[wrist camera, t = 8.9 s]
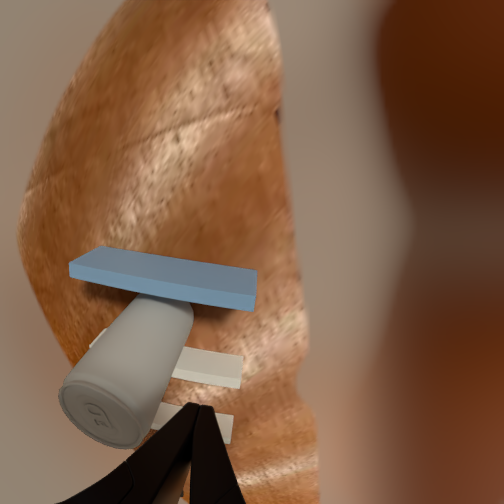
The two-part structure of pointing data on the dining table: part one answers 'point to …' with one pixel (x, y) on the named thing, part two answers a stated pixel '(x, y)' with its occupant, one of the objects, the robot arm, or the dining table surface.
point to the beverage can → (127, 371)
